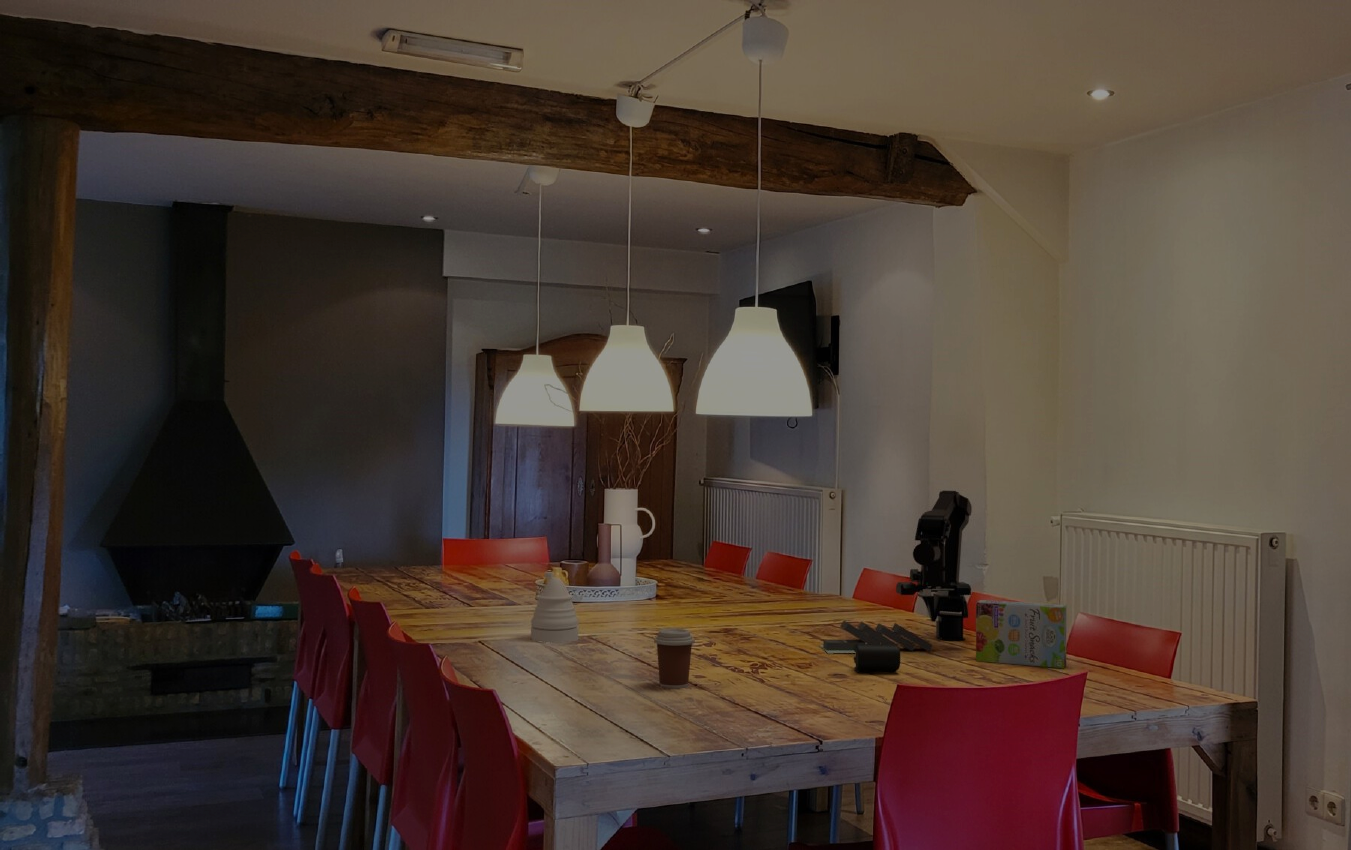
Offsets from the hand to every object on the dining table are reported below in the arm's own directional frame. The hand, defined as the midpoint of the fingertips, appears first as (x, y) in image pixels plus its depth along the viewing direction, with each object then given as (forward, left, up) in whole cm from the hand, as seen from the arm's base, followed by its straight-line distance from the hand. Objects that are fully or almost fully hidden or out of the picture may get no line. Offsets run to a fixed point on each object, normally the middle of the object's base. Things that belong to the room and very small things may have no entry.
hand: (933, 621), depth 298 cm
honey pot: (+100, -18, -8) cm, 102 cm away
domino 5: (+19, 0, -6) cm, 20 cm away
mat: (+25, 0, -7) cm, 26 cm away
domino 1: (+15, 0, -6) cm, 16 cm away
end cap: (+23, +29, -8) cm, 38 cm away
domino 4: (+1, 0, -7) cm, 7 cm away
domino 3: (+6, 0, -7) cm, 9 cm away
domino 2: (+11, 0, -7) cm, 13 cm away
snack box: (-16, +19, -8) cm, 26 cm away
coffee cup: (+72, +43, -8) cm, 84 cm away
